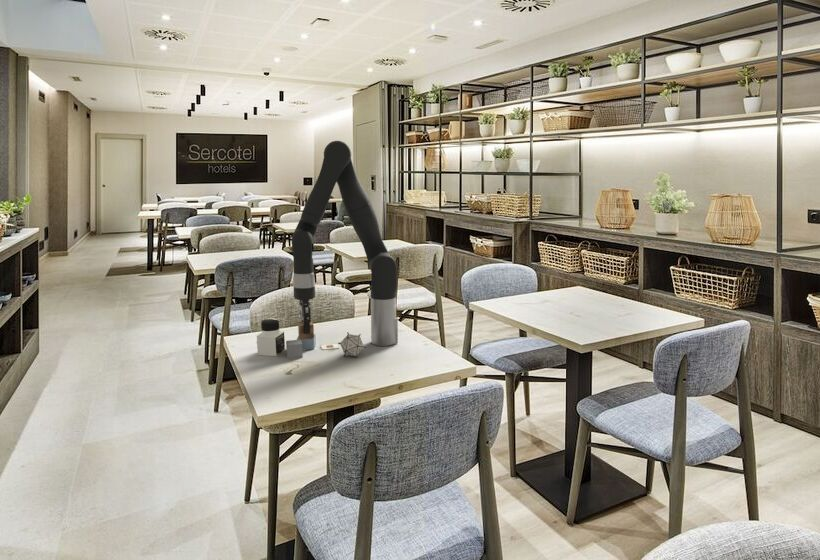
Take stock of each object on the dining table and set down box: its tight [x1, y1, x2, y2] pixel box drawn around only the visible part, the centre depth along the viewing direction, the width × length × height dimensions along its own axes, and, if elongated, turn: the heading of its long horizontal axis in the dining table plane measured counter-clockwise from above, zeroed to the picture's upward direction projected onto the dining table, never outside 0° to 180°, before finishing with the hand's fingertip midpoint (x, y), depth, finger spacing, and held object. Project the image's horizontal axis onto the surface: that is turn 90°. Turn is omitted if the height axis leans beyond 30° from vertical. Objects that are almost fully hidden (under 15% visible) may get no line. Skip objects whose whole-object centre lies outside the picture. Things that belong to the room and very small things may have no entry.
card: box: [320, 343, 340, 351], centre depth 204 cm, size 6×4×1 cm
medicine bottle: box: [256, 317, 286, 357], centre depth 197 cm, size 7×7×12 cm
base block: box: [296, 333, 317, 351], centre depth 204 cm, size 6×6×4 cm
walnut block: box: [297, 320, 315, 339], centre depth 203 cm, size 5×5×5 cm
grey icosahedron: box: [337, 332, 367, 359], centre depth 193 cm, size 9×8×10 cm
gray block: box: [285, 339, 304, 360], centre depth 194 cm, size 5×5×5 cm
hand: (306, 330), depth 203 cm, fingers open, 5 cm apart
